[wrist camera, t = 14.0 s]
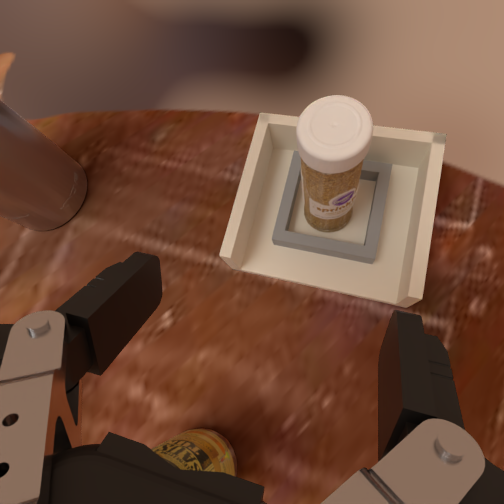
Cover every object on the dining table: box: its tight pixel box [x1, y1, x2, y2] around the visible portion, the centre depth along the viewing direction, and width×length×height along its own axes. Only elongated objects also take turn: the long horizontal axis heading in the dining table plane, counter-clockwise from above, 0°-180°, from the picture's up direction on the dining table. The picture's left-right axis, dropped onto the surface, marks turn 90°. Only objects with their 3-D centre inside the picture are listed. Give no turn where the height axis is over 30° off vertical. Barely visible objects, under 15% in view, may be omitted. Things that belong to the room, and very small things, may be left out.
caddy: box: [219, 112, 447, 308], centre depth 32 cm, size 16×14×5 cm
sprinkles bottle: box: [296, 95, 373, 232], centre depth 28 cm, size 5×5×14 cm
